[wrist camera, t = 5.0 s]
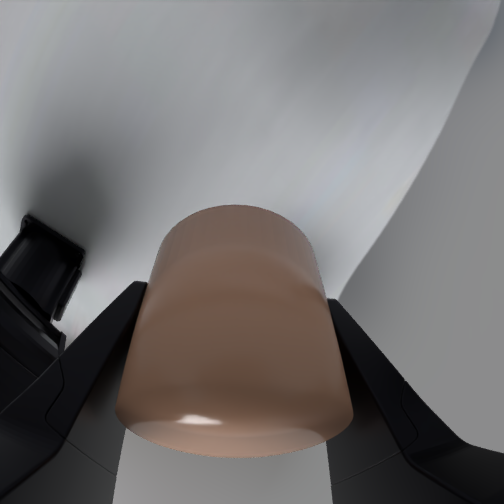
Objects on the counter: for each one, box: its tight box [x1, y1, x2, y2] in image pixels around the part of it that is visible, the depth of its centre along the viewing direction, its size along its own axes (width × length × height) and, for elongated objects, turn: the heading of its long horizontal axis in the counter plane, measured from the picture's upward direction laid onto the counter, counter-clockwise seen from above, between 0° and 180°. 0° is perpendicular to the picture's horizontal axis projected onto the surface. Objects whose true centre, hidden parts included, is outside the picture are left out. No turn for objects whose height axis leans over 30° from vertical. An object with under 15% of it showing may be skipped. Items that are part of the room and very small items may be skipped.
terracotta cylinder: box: [115, 205, 353, 458], centre depth 8 cm, size 5×5×5 cm
